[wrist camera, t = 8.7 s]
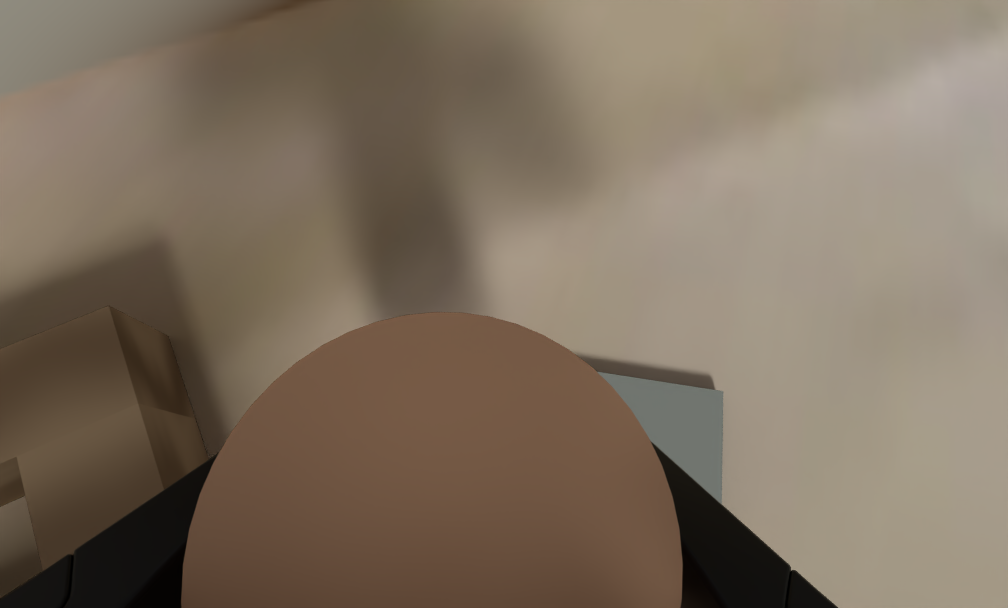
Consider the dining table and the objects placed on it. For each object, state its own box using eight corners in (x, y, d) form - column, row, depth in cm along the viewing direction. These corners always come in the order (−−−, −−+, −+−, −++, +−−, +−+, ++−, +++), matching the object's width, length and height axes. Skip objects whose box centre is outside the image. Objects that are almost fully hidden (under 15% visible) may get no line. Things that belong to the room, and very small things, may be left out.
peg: (587, 541, 15) (782, 619, 6) (428, 662, 14) (334, 1015, 4) (487, 387, 16) (507, 238, 7) (333, 487, 15) (101, 473, 6)
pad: (711, 727, 20) (718, 735, 19) (376, 676, 20) (373, 681, 19) (717, 393, 24) (723, 391, 23) (438, 350, 24) (437, 346, 23)
